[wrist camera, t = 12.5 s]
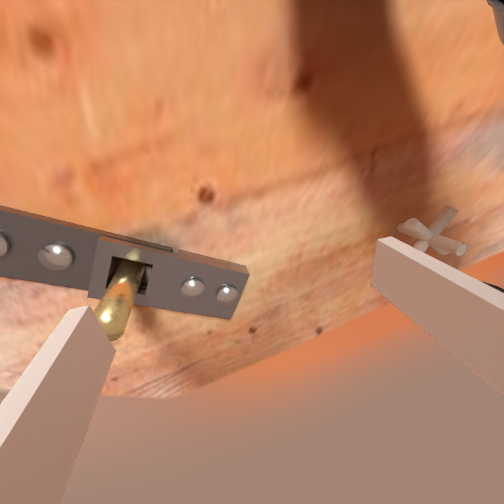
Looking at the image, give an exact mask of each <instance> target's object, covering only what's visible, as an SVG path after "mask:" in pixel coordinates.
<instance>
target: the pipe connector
mask: <svg viewBox="0 0 504 504" xmlns="http://www.w3.org/2000/svg"><path fill="white" fill-rule="evenodd" d="M457 212H458V210H456V209H455V208H453V207H450V206H444V207H443V209H442V210H441V211H440V212H439V214H438V215H437V216H436V217H435V219H434V220H433V221H432V222H431V224H430V225H429V226H428V227H425V226H424V225H423V224H422V223H421V222H419V221H418V220H417V219H416V218H410V219H408V220H407V221H406V222H402V223H400V224H399V225H398V227H397V230H398V232H400V233H403V234H405V235H408V236H410V237H413V238H415V239H418V240H417V241H416V242H415V243H414V245H413V246H412V247H413V248H415V249H417V250H419V251H421V252H423V253H424V252H425V251H426V250H427V249H428V247H429V246H430V247H431V248H432V249H433V250H435V251H436V252H437V253H439V254H440V255H447V254H449V253H452V254H454V255H457V256H461V255H463V254H464V253H465V252H466V250H467V248H468V245H467V244H465V243H462V242H459V241H456V240H454V239H451V238H448V237H445V236H442V235H439V234H440V233H441V231H442V230H443V229H444V228H445V227H446V225H447V224H448V223H449V222H450V221H451V219H452V218H453V217H454V216H455V214H456V213H457Z"/></svg>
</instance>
